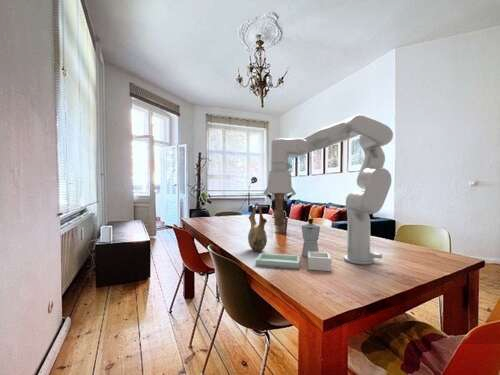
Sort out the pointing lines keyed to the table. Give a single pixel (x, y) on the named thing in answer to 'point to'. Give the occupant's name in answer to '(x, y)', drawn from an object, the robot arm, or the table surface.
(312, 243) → the coffee maker
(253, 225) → the ceramic vessel
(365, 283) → the table surface
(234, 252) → the table surface
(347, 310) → the table surface
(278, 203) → the dowel
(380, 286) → the table surface
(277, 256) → the tray
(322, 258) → the white square ring
